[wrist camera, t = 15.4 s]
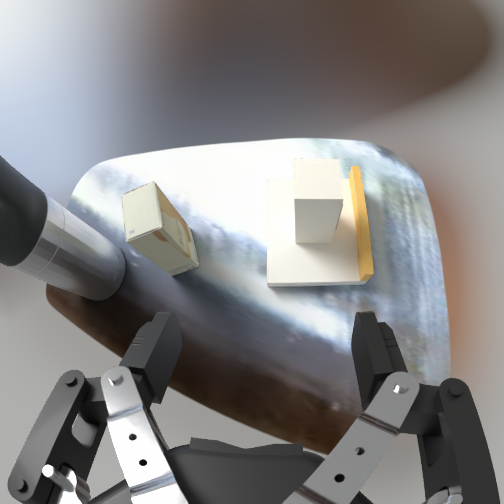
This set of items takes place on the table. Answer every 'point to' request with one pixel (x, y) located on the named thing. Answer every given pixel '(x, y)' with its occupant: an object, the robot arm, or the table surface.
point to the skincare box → (158, 230)
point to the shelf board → (313, 254)
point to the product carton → (317, 199)
